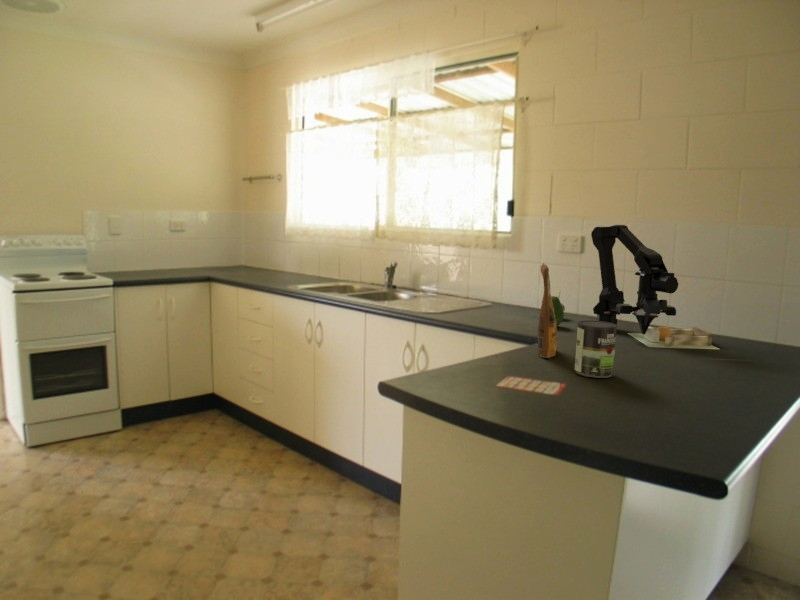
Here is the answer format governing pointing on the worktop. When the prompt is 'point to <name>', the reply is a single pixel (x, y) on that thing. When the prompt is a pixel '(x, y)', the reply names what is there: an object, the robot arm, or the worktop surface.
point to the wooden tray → (688, 337)
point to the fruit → (557, 310)
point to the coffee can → (595, 347)
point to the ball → (664, 332)
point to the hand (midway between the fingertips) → (643, 334)
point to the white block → (652, 334)
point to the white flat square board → (662, 343)
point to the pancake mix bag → (547, 320)
